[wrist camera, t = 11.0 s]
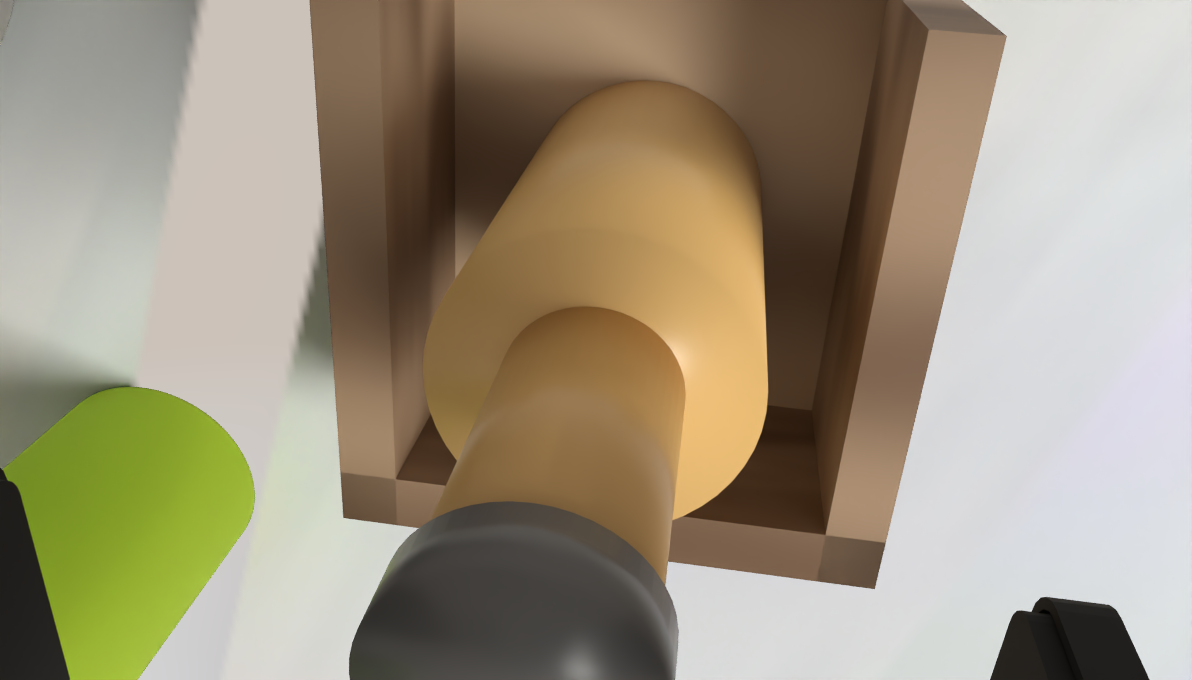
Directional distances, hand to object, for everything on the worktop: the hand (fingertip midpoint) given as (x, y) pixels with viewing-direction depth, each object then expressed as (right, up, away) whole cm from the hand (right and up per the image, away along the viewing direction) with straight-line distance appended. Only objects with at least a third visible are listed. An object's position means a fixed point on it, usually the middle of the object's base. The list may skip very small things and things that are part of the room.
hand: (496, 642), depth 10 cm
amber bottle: (+2, +6, +14) cm, 15 cm away
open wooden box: (+2, +6, +14) cm, 16 cm away
